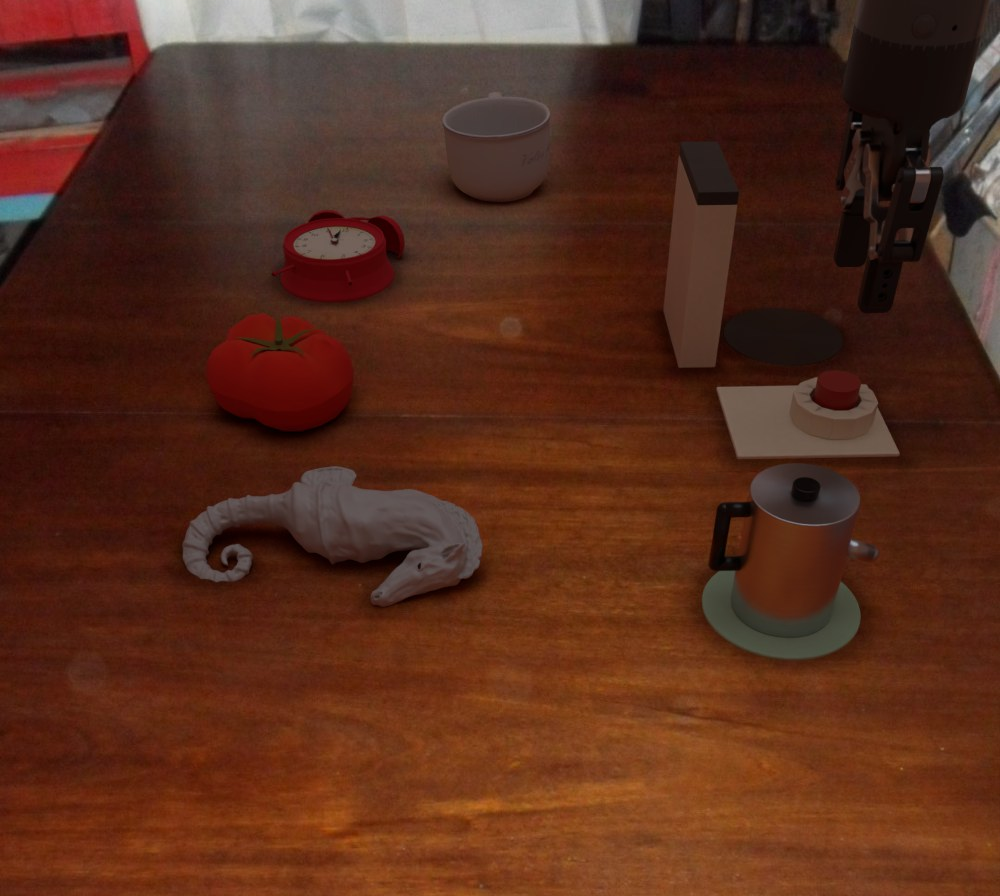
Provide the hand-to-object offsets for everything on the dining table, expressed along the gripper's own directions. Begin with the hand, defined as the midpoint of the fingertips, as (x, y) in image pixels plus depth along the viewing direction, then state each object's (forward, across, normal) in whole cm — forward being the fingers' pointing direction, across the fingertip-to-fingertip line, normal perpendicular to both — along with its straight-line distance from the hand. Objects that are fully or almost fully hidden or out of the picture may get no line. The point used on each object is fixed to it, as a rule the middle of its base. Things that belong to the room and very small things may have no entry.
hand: (860, 286), depth 83 cm
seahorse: (+12, -15, +37) cm, 42 cm away
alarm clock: (+12, +29, +39) cm, 50 cm away
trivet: (+12, -21, +8) cm, 26 cm away
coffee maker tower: (+12, +14, +9) cm, 20 cm away
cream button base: (+12, 0, +2) cm, 12 cm away
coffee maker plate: (+12, +14, +1) cm, 18 cm away
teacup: (+12, +49, +24) cm, 55 cm away
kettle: (+11, -21, +8) cm, 25 cm away
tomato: (+12, +5, +42) cm, 44 cm away
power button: (+9, 0, 0) cm, 9 cm away
